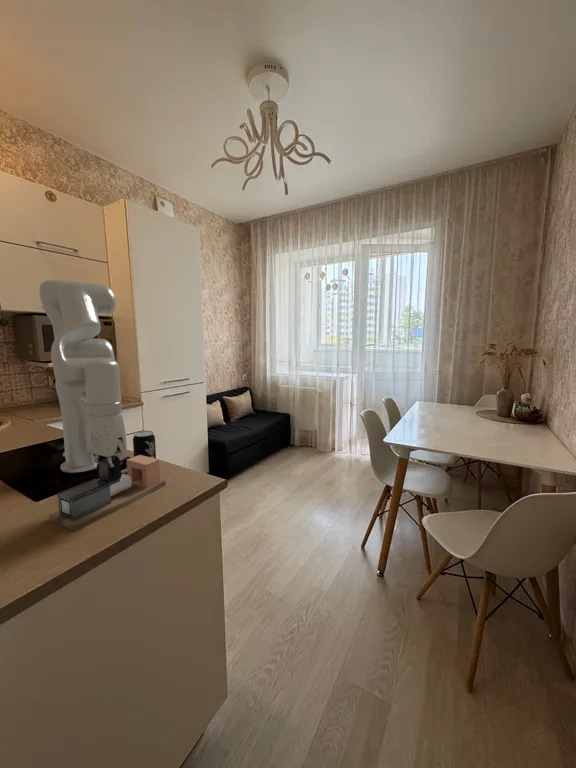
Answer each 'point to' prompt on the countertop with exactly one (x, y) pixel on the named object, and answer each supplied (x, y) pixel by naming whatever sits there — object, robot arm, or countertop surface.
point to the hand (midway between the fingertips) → (109, 477)
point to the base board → (108, 506)
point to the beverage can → (144, 444)
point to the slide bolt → (103, 472)
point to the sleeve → (85, 498)
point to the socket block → (143, 470)
